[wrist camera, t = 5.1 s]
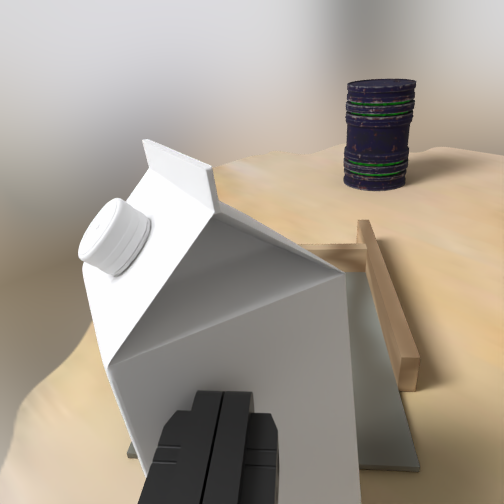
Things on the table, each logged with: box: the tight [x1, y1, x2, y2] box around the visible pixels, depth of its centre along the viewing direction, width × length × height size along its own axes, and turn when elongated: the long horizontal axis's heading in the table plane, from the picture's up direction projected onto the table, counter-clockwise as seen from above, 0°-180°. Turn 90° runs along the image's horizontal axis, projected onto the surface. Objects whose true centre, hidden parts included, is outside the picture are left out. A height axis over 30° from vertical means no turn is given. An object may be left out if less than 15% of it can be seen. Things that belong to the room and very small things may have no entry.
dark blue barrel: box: [344, 79, 416, 191], centre depth 65 cm, size 10×10×15 cm
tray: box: [127, 220, 420, 472], centre depth 37 cm, size 19×29×3 cm
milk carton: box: [78, 139, 361, 504], centre depth 16 cm, size 7×7×19 cm
